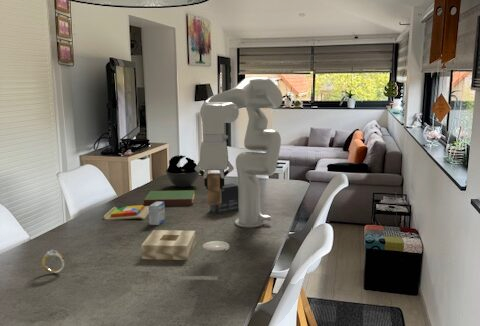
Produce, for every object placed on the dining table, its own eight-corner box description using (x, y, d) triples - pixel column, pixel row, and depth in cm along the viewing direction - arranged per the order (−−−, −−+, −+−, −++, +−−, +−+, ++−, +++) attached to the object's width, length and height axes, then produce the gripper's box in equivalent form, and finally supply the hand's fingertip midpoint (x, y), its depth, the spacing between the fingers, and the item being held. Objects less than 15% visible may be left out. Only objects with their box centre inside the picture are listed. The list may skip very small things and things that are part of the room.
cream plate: (230, 243, 171) (230, 241, 171) (227, 253, 161) (227, 250, 161) (204, 243, 172) (204, 240, 172) (200, 252, 162) (200, 250, 162)
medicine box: (158, 225, 194) (157, 206, 192) (149, 225, 195) (148, 205, 193) (165, 220, 202) (164, 201, 200) (156, 219, 202) (155, 201, 201)
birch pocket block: (195, 245, 169) (195, 230, 168) (187, 262, 153) (187, 246, 152) (154, 245, 170) (153, 230, 169) (142, 261, 155) (141, 245, 153)
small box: (232, 206, 223) (232, 182, 221) (240, 209, 217) (239, 185, 215) (209, 210, 216) (209, 186, 214) (216, 213, 210) (216, 189, 208)
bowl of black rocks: (167, 183, 275) (166, 153, 271) (200, 182, 277) (199, 152, 274) (165, 191, 255) (164, 158, 252) (200, 190, 257) (199, 158, 254)
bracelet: (41, 275, 144) (39, 251, 143) (46, 271, 148) (44, 248, 146) (62, 275, 144) (60, 252, 142) (66, 271, 147) (65, 248, 146)
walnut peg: (221, 201, 165) (220, 172, 163) (220, 204, 161) (219, 175, 159) (209, 201, 166) (209, 172, 164) (208, 204, 162) (207, 175, 160)
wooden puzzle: (114, 210, 220) (114, 203, 220) (152, 210, 220) (152, 203, 219) (102, 220, 203) (102, 213, 202) (143, 221, 202) (143, 213, 202)
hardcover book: (144, 207, 225) (143, 199, 224) (150, 197, 244) (150, 191, 243) (193, 206, 226) (193, 199, 225) (196, 196, 244) (196, 190, 243)
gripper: (237, 137, 162) (238, 186, 166) (192, 137, 164) (193, 185, 167) (236, 139, 155) (236, 191, 158) (188, 139, 156) (189, 190, 159)
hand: (214, 187), depth 162 cm, fingers closed on walnut peg, 4 cm apart
